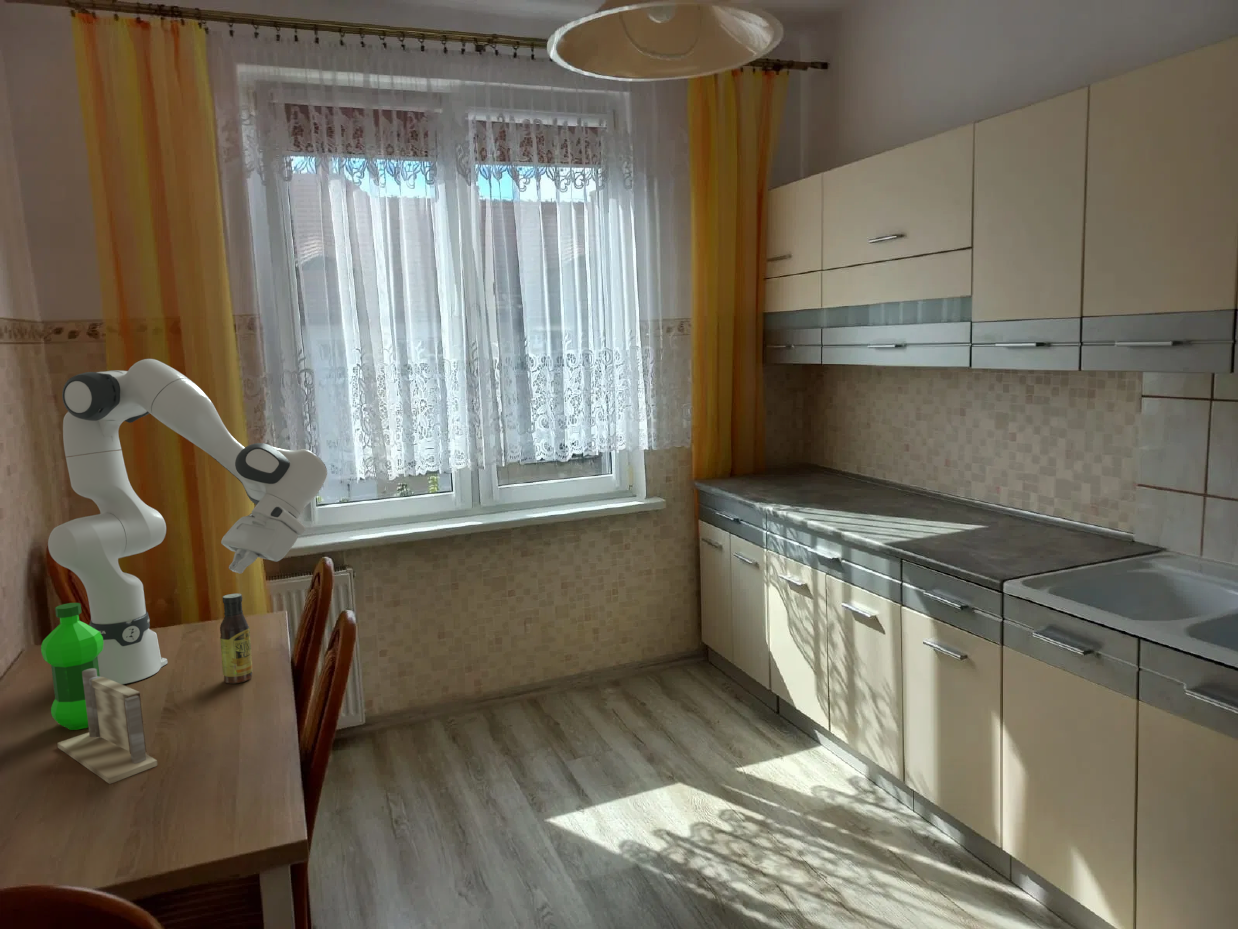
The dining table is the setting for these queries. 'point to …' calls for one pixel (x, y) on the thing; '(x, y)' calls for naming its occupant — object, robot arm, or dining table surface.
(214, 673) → the dining table surface
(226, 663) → the sauce bottle
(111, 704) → the gate
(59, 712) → the plastic bottle
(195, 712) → the dining table surface
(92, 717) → the wooden stand
